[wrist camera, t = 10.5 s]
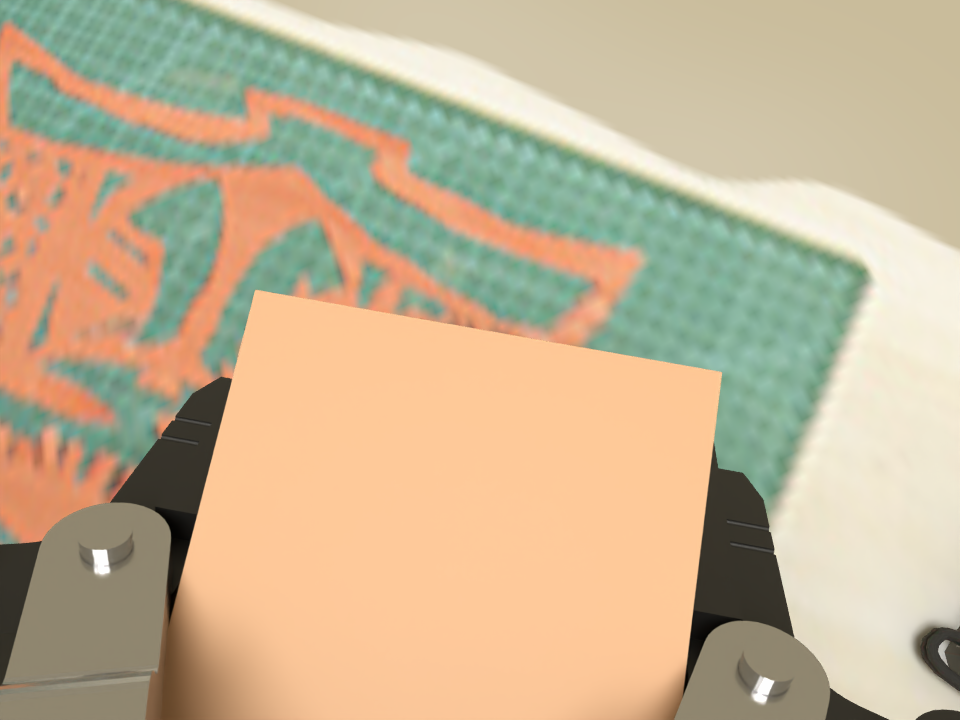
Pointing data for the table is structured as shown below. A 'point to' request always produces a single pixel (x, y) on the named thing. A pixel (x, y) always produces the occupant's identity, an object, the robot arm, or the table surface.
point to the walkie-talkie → (956, 654)
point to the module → (441, 527)
